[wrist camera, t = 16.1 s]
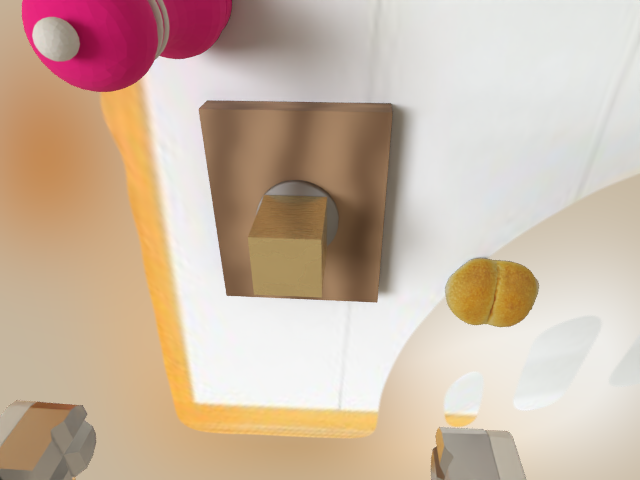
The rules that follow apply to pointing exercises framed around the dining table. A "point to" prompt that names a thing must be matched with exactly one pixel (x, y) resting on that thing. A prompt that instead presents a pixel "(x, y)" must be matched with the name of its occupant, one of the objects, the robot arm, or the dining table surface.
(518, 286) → the bread roll
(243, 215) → the walnut board
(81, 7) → the pepper mill
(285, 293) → the wooden cube block
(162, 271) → the dining table surface
